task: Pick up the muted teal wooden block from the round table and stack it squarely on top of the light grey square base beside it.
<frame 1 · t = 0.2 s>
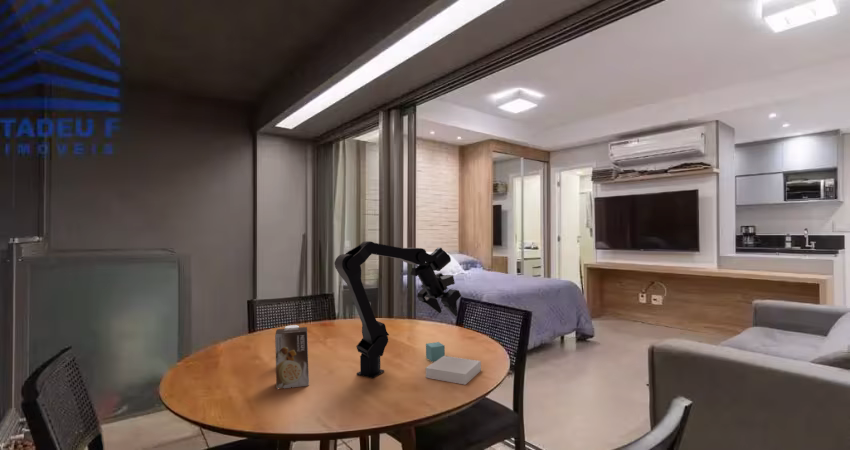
hand: (448, 314, 142), 15 cm above the table, tool tilted 30°, fingers open, 9 cm apart
supplement bottle: (292, 364, 135), on the table
grey base: (454, 373, 123), on the table
coffee box: (292, 384, 117), on the table
teal block: (435, 358, 139), on the table
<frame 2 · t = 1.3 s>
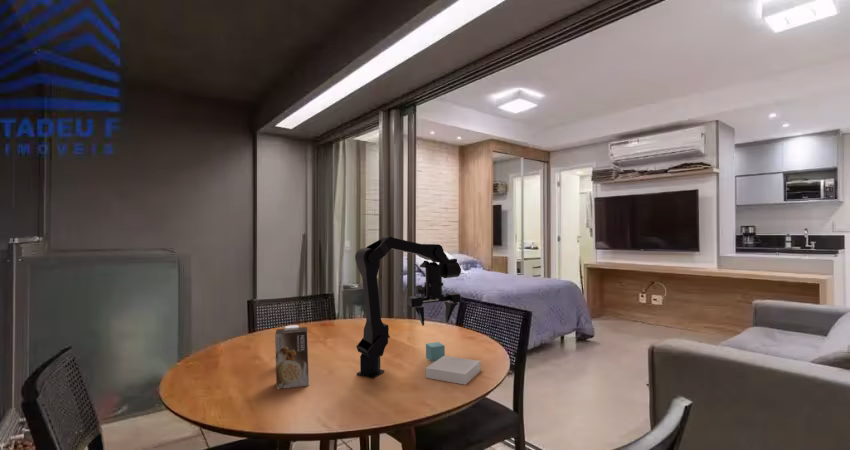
hand: (435, 323, 139), 12 cm above the table, tool pointing down, fingers open, 9 cm apart
nothing on the table moved.
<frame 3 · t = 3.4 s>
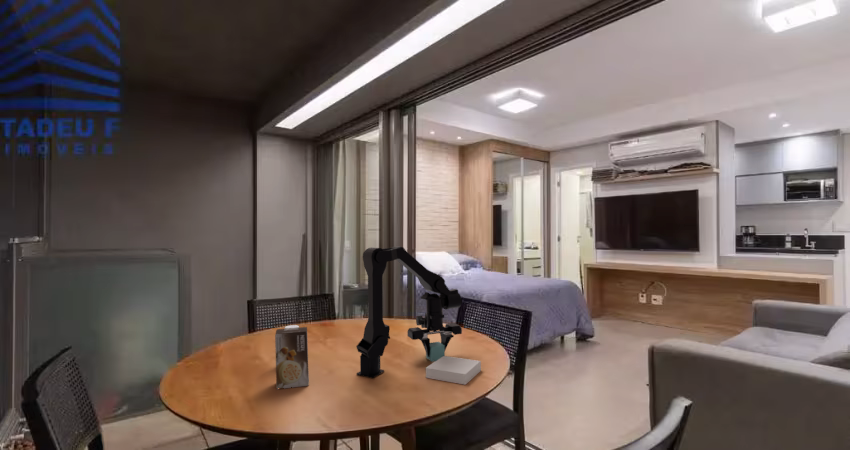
hand: (435, 355, 139), 1 cm above the table, tool pointing down, fingers closed on teal block, 5 cm apart
teal block: (435, 358, 139), on the table, touching gripper
everything else where it was.
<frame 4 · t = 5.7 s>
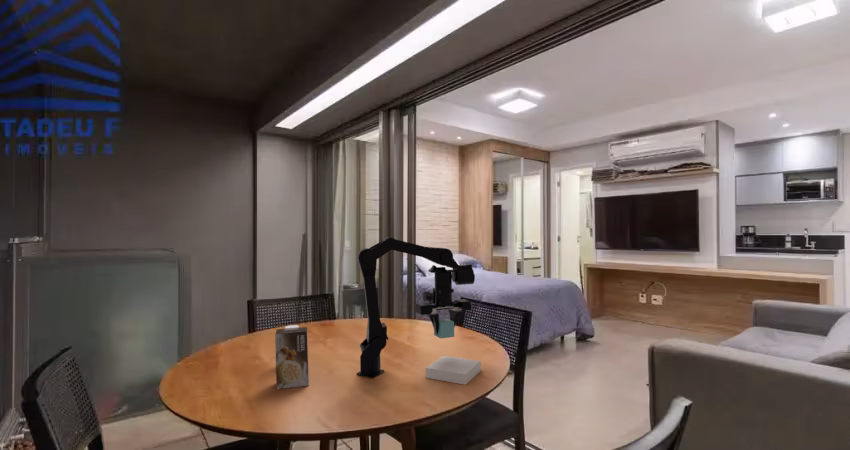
hand: (444, 332, 131), 11 cm above the table, tool pointing down, fingers closed on teal block, 5 cm apart
teal block: (444, 335, 131), point 10 cm above the table, touching gripper
everything else where it was.
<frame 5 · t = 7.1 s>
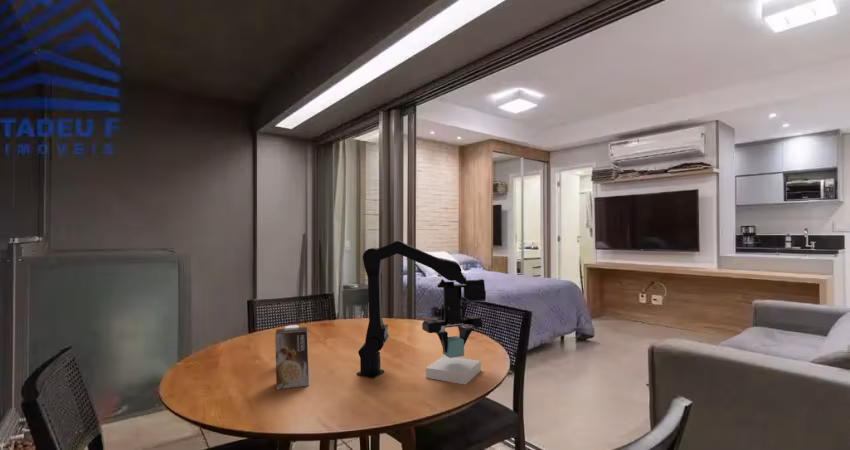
hand: (453, 351, 124), 7 cm above the table, tool pointing down, fingers closed on teal block, 5 cm apart
teal block: (453, 354, 123), point 6 cm above the table, touching gripper
everything else where it was.
when the fingers open (5 cm above the table, at t = 8.3 s): teal block drops 1 cm, resting on grey base.
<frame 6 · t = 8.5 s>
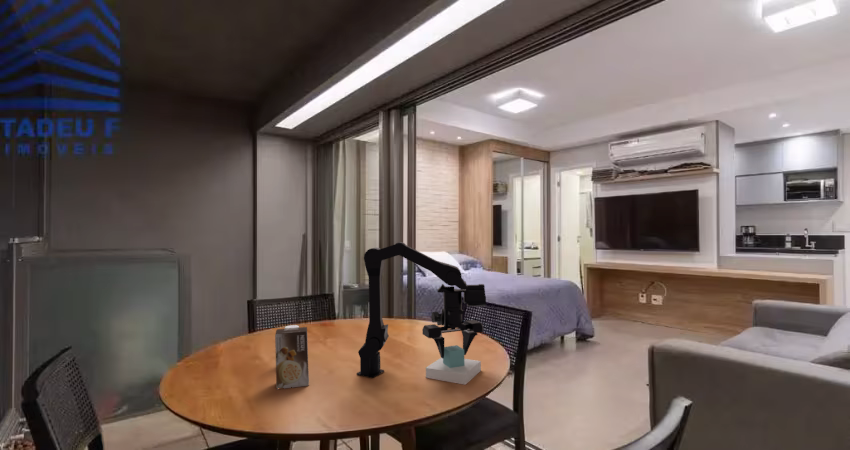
hand: (453, 356, 123), 5 cm above the table, tool pointing down, fingers open, 7 cm apart
teal block: (453, 364, 123), point 3 cm above the table, touching grey base
everything else where it was.
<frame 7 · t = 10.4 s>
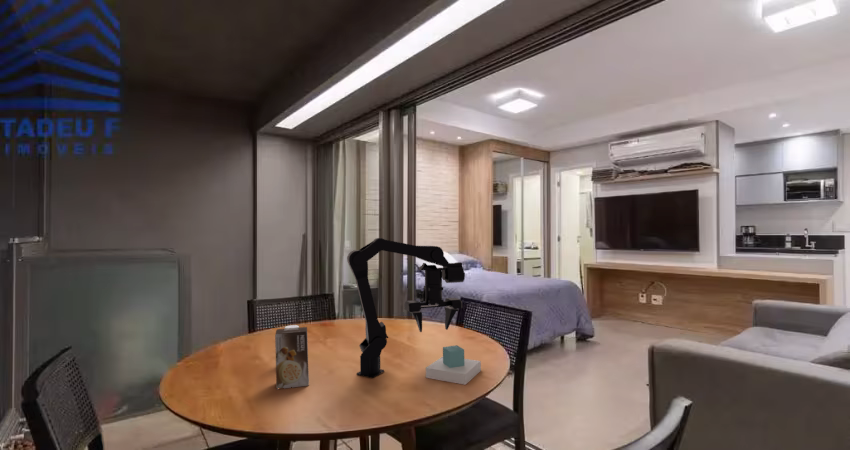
hand: (433, 330, 131), 12 cm above the table, tool pointing down, fingers open, 9 cm apart
nothing on the table moved.
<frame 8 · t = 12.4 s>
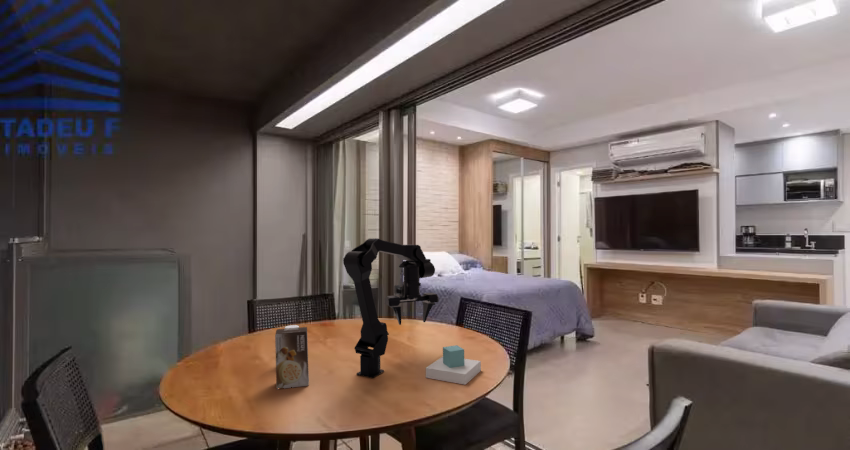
hand: (412, 323, 141), 12 cm above the table, tool pointing down, fingers open, 9 cm apart
nothing on the table moved.
at the end: teal block inside the target area on the grey base (0.0 cm from its centre), point 3.0 cm above the grey base's base; teal block tilted 0°; the gripper is holding nothing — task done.
